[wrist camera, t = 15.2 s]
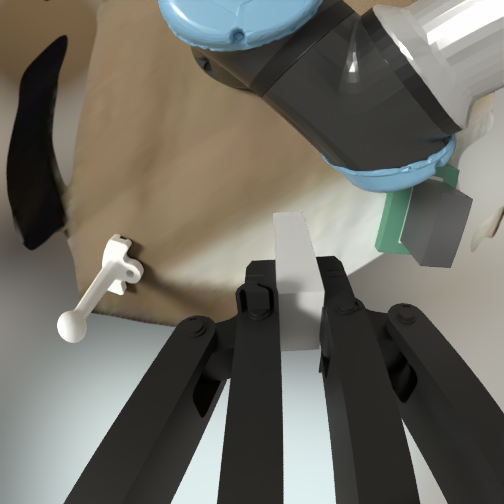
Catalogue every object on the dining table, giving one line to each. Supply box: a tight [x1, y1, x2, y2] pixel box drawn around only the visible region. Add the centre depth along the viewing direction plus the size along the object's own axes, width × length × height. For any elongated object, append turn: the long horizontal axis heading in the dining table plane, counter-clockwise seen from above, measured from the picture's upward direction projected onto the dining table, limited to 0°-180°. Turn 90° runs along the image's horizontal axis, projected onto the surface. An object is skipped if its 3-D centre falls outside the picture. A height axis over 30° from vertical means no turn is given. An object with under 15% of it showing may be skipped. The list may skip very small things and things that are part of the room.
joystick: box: [57, 234, 144, 343], centre depth 41 cm, size 11×8×20 cm
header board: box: [375, 165, 459, 255], centre depth 40 cm, size 16×12×6 cm
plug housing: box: [400, 178, 473, 268], centre depth 37 cm, size 11×6×8 cm, turn 176°
